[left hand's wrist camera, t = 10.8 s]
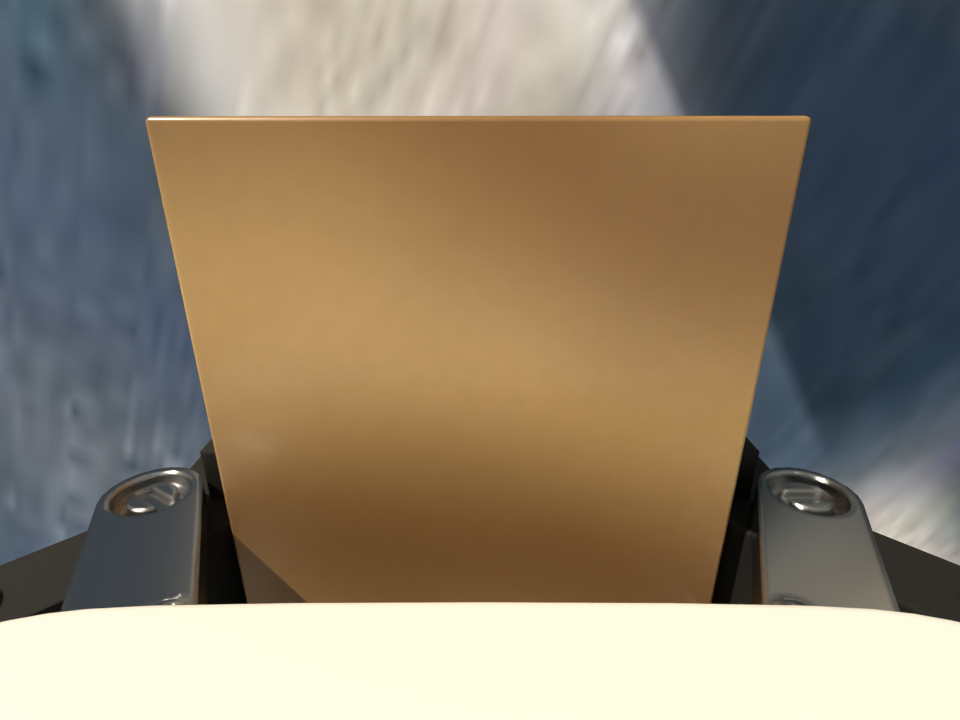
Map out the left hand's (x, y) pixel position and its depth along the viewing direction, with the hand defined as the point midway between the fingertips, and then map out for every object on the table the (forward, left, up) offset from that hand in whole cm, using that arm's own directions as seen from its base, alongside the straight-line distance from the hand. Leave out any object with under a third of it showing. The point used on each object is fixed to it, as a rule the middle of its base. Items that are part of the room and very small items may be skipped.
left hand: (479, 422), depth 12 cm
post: (+3, +26, -2) cm, 26 cm away
